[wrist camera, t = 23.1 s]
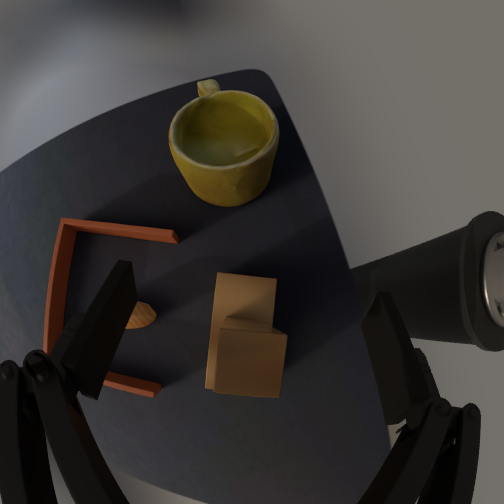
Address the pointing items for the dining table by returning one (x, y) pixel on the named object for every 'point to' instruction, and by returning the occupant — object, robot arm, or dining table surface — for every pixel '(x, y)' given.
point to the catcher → (60, 282)
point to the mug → (224, 144)
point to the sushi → (141, 316)
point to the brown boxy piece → (245, 338)
